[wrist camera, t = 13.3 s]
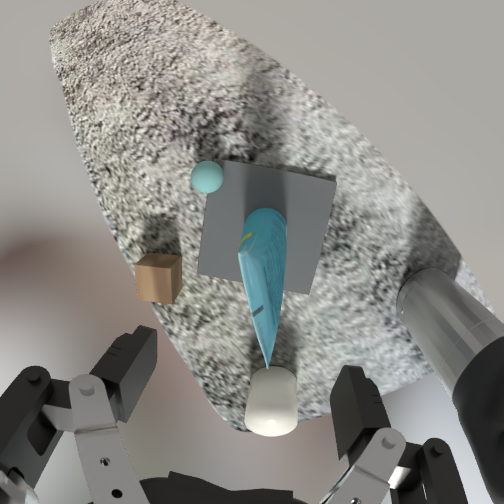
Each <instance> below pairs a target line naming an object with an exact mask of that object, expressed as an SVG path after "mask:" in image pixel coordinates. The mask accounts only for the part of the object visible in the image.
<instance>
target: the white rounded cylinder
mask: <svg viewBox="0 0 504 504" xmlns="http://www.w3.org/2000/svg"><path fill="white" fill-rule="evenodd" d="M297 422H298V421H297V381H296V377H295V375H294V374H293V373H292V372H291V371H289V370H288V369H285V368H283V367H278V366H269V369H267V367H264V368H261V369H259V370H257V371H256V372H255V373H254V374H253V375H252V377H251V381H250V388H249V394H248V401H247V407H246V414H245V424H246V426H247V428H249V429H250V430H251V431H253V432H254V433H257V434H260V435H264V436H280V435H284V434H287V433H289V432H291V431H292V430H293V429H294V428H295V427H296V425H297Z"/></svg>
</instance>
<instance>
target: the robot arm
mask: <svg viewBox="0 0 504 504" xmlns="http://www.w3.org/2000/svg"><path fill="white" fill-rule="evenodd" d="M396 307H397V313H398V316H399V318H400V319H401V321H402V322H403V324H404V325H405V327H406V328H407V330H408V331H409V333H410V334H411V336H412V337H413V339H414V340H415V342H416V344H417V345H418V347H419V348H420V350H421V351H422V353H423V354H424V356H425V357H426V359H427V361H428V362H429V364H430V365H431V367H432V369H433V370H434V372H435V374H436V375H437V377H438V378H439V380H440V382H441V383H442V385H443V386H444V388H445V390H446V392H447V393H448V395H449V397H450V398H451V400H452V402H453V404H454V405H455V407H456V409H457V411H458V416H459V421H460V424H461V426H462V428H463V431H464V433H465V435H466V437H467V439H468V441H469V444H470V446H471V448H472V451H473V453H474V456H475V459H476V461H477V464H478V467H479V469H480V473H481V476H482V478H483V481H484V483H485V486H486V489H487V491H488V493H489V495H490V497H491V499H492V501H493V503H494V504H504V324H503V323H502V322H501V321H500V320H499V319H497V318H496V317H495V316H494V315H493V314H492V313H491V312H490V311H489V310H488V309H487V308H485V307H484V306H483V305H482V304H481V303H480V302H479V301H478V300H476V299H475V298H474V297H473V296H472V295H471V294H470V293H468V292H467V291H466V290H465V289H464V288H463V287H461V286H460V285H459V284H458V283H457V282H456V281H454V280H453V279H452V278H451V277H449V276H448V275H447V274H446V273H444V272H443V271H441V270H440V269H437V268H426V269H422V270H420V271H418V272H416V273H415V274H414V275H412V276H411V277H410V278H409V279H408V280H407V281H406V282H405V284H404V285H403V287H402V288H401V291H400V293H399V295H398V299H397V306H396ZM156 362H157V330H156V329H153V328H149V327H145V326H142V325H139V326H138V327H137V329H136V330H135V331H134V333H133V334H128V333H125V334H123V335H121V336H120V337H118V338H116V340H115V341H114V342H113V343H112V345H111V347H109V349H108V350H107V351H106V353H105V354H104V355H103V356H102V358H101V359H100V360H99V362H98V363H97V364H96V365H95V367H94V368H93V369H92V370H91V372H90V373H89V374H83V375H79V376H77V377H75V378H73V379H72V381H63V380H57V379H51V377H50V374H49V372H48V371H47V370H46V369H45V368H43V367H40V366H30V367H27V368H25V369H24V370H22V371H21V373H20V374H19V375H18V376H17V377H16V379H15V380H14V381H13V382H12V383H11V385H10V386H9V387H8V388H7V389H6V391H5V392H4V393H3V394H2V396H1V397H0V504H39V499H38V496H37V494H36V493H35V491H34V488H35V485H36V484H37V482H38V480H39V478H40V475H41V473H42V471H43V470H44V468H45V466H46V464H47V462H48V460H49V458H50V456H51V454H52V453H53V451H54V449H55V447H56V445H57V443H58V441H59V440H60V438H61V436H62V434H63V432H64V431H68V432H74V434H75V440H76V444H77V448H78V452H79V456H80V460H81V464H82V468H83V471H84V475H85V478H86V481H87V485H88V488H89V491H90V494H91V497H92V500H93V502H91V503H88V504H307V503H305V502H303V501H301V500H298V499H295V498H293V491H289V490H274V489H253V490H239V491H230V490H227V489H224V488H222V487H219V486H217V485H214V484H212V483H210V482H207V481H205V480H203V479H200V478H196V477H192V476H188V475H183V474H180V473H176V472H172V471H170V473H169V476H168V478H166V477H156V478H148V479H144V480H140V481H139V480H138V478H137V476H136V473H135V471H134V469H133V466H132V464H131V461H130V459H129V456H128V454H127V452H126V448H125V446H124V443H123V440H122V438H121V435H120V432H119V429H118V427H117V425H116V423H117V421H118V420H120V421H122V422H125V423H127V421H128V419H129V417H130V415H131V413H132V411H133V409H134V408H135V406H136V404H137V402H138V400H139V398H140V396H141V394H142V392H143V390H144V388H145V386H146V384H147V382H148V380H149V379H150V377H151V375H152V373H153V371H154V369H155V366H156ZM330 406H331V412H332V418H333V424H334V430H335V437H336V443H337V450H338V457H339V461H349V467H348V468H347V469H346V470H345V472H344V473H343V475H342V476H341V477H340V478H339V480H338V481H337V482H336V484H335V485H334V486H333V487H332V489H331V490H330V491H329V492H328V493H327V495H326V496H325V497H324V498H323V499H322V500H321V501H320V502H319V504H381V502H382V500H383V499H384V497H385V495H386V493H387V491H388V489H389V488H390V493H391V500H392V504H468V501H467V498H466V494H465V491H464V488H463V484H462V482H461V478H460V475H459V472H458V469H457V466H456V463H455V461H454V458H453V455H452V452H451V449H450V447H449V445H448V444H447V443H445V441H443V440H441V439H439V438H430V439H428V440H427V441H426V442H425V443H424V444H423V445H419V444H414V443H409V442H406V440H405V438H404V436H403V435H402V434H401V433H400V432H399V431H397V430H395V429H392V428H391V425H390V422H389V419H388V416H387V413H386V410H385V407H384V405H383V404H382V399H381V397H380V393H379V390H378V388H377V386H376V385H375V384H374V382H373V381H372V380H371V379H370V378H366V377H365V374H364V371H363V369H362V367H360V366H350V365H344V366H343V368H342V369H341V372H340V374H339V376H338V378H337V380H336V382H335V384H334V386H333V389H332V391H331V395H330ZM422 484H424V489H425V493H426V498H427V499H426V498H425V494H424V489H423V485H422Z"/></svg>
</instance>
